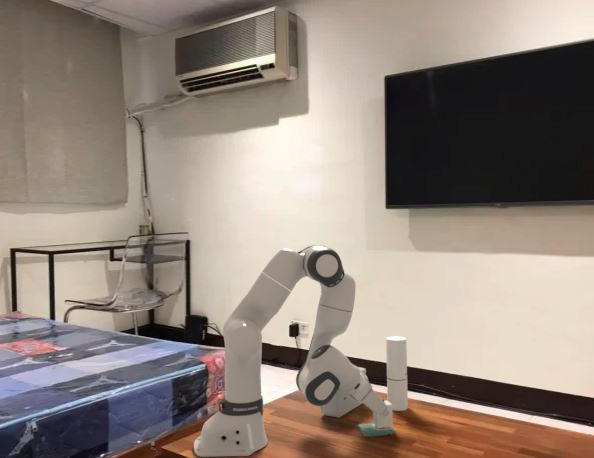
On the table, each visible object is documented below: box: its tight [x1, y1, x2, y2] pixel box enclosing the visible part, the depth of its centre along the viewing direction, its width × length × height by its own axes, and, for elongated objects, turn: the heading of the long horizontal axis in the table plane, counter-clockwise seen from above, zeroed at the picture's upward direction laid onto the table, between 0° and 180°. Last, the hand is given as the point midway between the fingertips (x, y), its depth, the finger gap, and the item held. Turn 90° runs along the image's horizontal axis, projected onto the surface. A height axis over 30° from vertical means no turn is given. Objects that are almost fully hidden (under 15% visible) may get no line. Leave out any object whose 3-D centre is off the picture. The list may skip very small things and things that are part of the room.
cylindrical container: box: [385, 335, 409, 412], centre depth 197 cm, size 7×7×25 cm
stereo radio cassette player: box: [319, 366, 367, 419], centre depth 197 cm, size 21×8×20 cm, turn 145°
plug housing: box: [372, 398, 394, 428], centre depth 176 cm, size 5×5×8 cm
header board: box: [357, 422, 397, 438], centre depth 176 cm, size 10×8×3 cm
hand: (384, 411), depth 176 cm, fingers closed on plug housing, 5 cm apart
